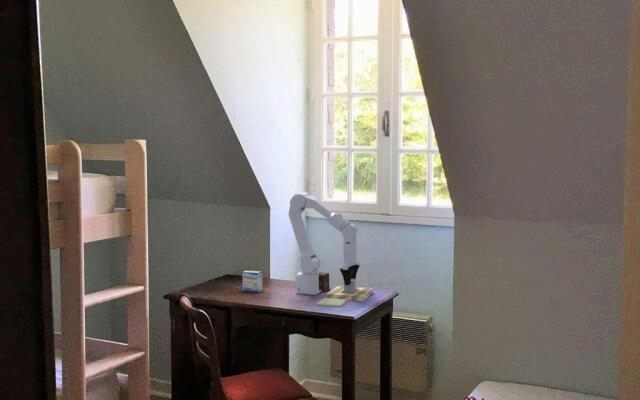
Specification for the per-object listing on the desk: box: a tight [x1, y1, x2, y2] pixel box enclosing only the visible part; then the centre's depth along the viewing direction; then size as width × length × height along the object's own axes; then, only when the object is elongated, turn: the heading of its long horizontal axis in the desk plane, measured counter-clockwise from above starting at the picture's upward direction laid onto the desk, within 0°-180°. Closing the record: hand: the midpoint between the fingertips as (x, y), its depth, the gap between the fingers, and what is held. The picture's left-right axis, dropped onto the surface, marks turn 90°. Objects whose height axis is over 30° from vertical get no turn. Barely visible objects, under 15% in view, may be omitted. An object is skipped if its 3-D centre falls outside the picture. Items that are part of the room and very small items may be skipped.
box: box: [319, 271, 330, 292], centre depth 318 cm, size 6×6×7 cm
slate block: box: [343, 278, 357, 294], centre depth 305 cm, size 4×4×7 cm
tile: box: [316, 297, 349, 308], centre depth 293 cm, size 10×10×1 cm
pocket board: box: [325, 285, 374, 302], centre depth 306 cm, size 16×16×2 cm
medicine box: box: [242, 270, 263, 293], centre depth 316 cm, size 8×4×9 cm, turn 73°
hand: (350, 283), depth 305 cm, fingers open, 7 cm apart
